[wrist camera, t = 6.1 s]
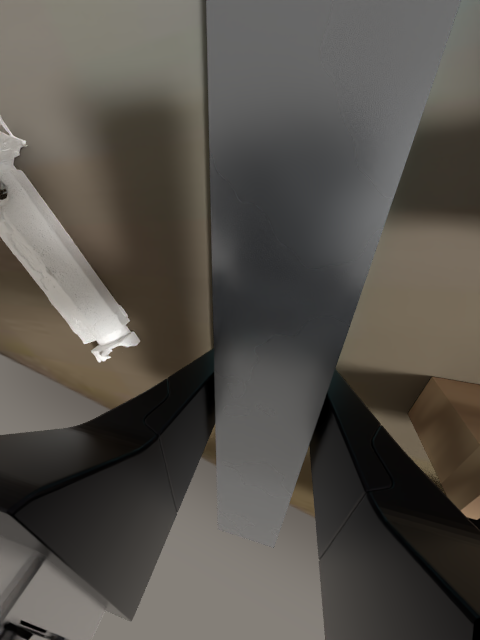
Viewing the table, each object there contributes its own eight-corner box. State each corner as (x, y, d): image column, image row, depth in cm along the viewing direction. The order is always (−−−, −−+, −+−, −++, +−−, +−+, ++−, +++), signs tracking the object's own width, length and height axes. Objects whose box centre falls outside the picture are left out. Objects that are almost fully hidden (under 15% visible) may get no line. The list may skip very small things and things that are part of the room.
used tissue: (31, 100, 13) (-58, 70, 10) (148, 347, 21) (120, 375, 18) (-67, 153, 17) (-160, 143, 13) (67, 351, 25) (31, 376, 21)
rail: (278, 483, 14) (273, 547, 11) (232, 470, 15) (217, 529, 12) (430, -91, 4) (677, -630, 1) (257, -64, 4) (197, -410, 2)
